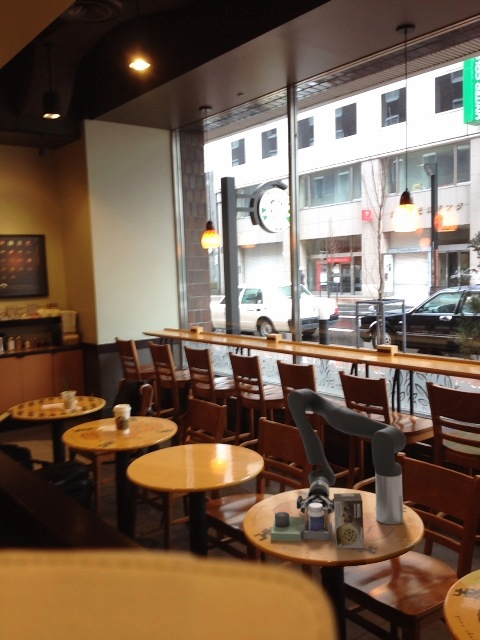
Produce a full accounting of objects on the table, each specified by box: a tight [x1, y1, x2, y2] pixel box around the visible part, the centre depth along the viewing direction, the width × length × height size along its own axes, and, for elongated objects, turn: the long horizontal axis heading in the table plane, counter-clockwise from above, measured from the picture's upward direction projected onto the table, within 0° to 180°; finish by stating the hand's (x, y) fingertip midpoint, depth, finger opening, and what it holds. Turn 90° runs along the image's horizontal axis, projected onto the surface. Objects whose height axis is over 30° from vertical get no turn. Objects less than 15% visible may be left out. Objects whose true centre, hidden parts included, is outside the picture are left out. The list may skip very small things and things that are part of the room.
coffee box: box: [333, 492, 365, 549], centre depth 191 cm, size 9×6×16 cm
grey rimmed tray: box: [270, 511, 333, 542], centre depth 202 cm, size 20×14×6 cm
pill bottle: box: [307, 503, 326, 532], centre depth 201 cm, size 6×6×10 cm
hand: (316, 511), depth 198 cm, fingers open, 8 cm apart
